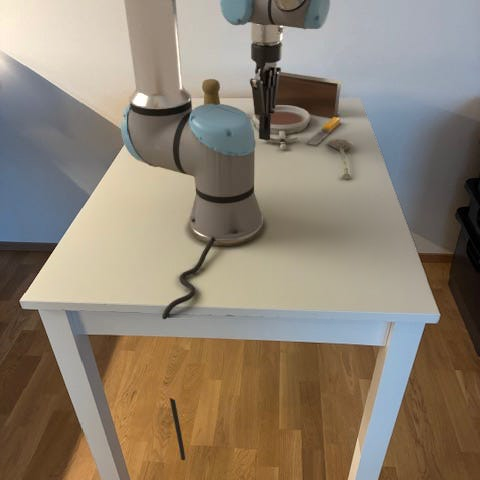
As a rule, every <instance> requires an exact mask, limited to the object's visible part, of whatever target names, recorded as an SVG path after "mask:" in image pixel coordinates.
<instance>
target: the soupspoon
mask: <svg viewBox="0 0 480 480" xmlns="http://www.w3.org/2000/svg"><path fill="white" fill-rule="evenodd" d="M327 144H328V145H329V146H331V147H333V148H335V149H337V150H339V151H340V154H341V159H342V162H343V167H344V168H343V175H342V179H343V180H349V179H350V178H351V174H350V173H349V169H348V164H347V158H346V153H345V150H347V149H349V148H350V147H352V146H353V142H351V141H350V140H349V139H346V138H341V137H340V138H333V139H330V140H329V141H327Z"/></svg>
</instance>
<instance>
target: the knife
mask: <svg viewBox="0 0 480 480" xmlns="http://www.w3.org/2000/svg"><path fill="white" fill-rule="evenodd" d="M340 122H341V118H340V117H337V116H336V117H333V118H330V119H329V120H328V121H327V122H326V123H325V124H324V125H323V127H322V128H321V129H320V130H321V131H320V132H319V133H318V134H316V136H315V137H314V138H313V139H311V140H310V142H309V143H308V145H311V146H315V147H316V146H318V145H319V144H320V143H321V142H322V141H323V140H324V139H325V138H326V137H327V136H328V135H330V133H331V132H332V131H333V130H334V129H335V128H336V127H338V126H339V124H340Z"/></svg>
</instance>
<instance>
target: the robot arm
mask: <svg viewBox="0 0 480 480" xmlns="http://www.w3.org/2000/svg"><path fill="white" fill-rule="evenodd" d="M123 1H124V11H125V16H126V17H125V18H126V25H127V32H128V40H129V45H130V53H131V60H132V67H133V68H132V69H133V76H134V82H135V89H134V90H133V92H132V93H131V95H130V96H129V104H128V105H127V106H126V107H125V109H124V111H123V114H122V116H123V119H121V124H120V125H121V126H120V131H121V132H120V133H121V137H122V141H123V144H124V146H125V148H126V150H127V152H128V153H129V154H130V156H131V157H133V158H134V159H136V160H137V161H139V162H140V163H144V164H147V165H148V166H150V167H153V168H160V169H165V170H169V171H172V172H176V173H180V174H183V175H187V176H191V177H193V178H194V185H195V197H194V200H193V205H192V208H191V211H190V212H191V213H190V216H189V229H190V232H191V234H192V236H193V237H194V238H195V239H196V240H197V241H199V242H202V243H204V244H206V245H205V247H204V249H203V251H202V253H201V255H200V257H199V259H198V261H197V263H196V265H195V266H194V267H192V268H190V269H188V270H186V271H183V272H182V273H180V275H179V282H180V283H181V284H182V285H183V286H184V287H185V288H186V289H189V292H188V293H187V294H186V295H183V296H181V297H178V298H176V299H175V300H173V301H171V302H170V303H169V304H168V305H167V306H166V307H165V309H164V311H163V313H162V317H161V318H162V320H166V319H167V318H168V317H169V315H170V313H171V311H173V309H174V308H175V307H176V306H179V305H181V304H183V303H185V302H188V301H190V300H191V299H193V298H194V296H195V294H196V287H195V286H194V285H193V284H192V283H191V282H188V281H187V280H186V277H189V276H191V275H194V274H196V273H197V272H198V271H199V270H200V269H201V268H202V266H203V264H204V262H205V260H206V257H207V255H208V254H209V252H210V250H211V249H212V247H213V246H214V247H215V246H216V247H235V246H239V245H243V244H246V243H249V242H251V241H253V240H254V239H256V238H258V236H259V235H260V234H261V233H262V230H263V228H264V227H263V226H264V218H263V214H262V211H261V209H260V205H259V203H258V202H259V201H258V199H257V196H256V193H255V157H256V155H255V151H256V136H255V127H254V121H252V118H251V117H250V116H249V114H247V113H246V112H245V111H243V110H242V109H240V108H238V107H235V106H232V105H229V104H224V103H220V104H218V105H214V104H205V105H204V104H201V105H198V106H196V107H194V108H193V102H192V94H191V93H190V92H189V91H188V90H187V89H186V88H185V87H184V85H183V75H182V61H181V52H180V51H181V50H180V37H179V26H178V25H179V24H178V11H177V0H123ZM219 5H220V10H221V13H222V16H223V18H224V19H225V20H226V22H228V23H229V24H230V25H232V26H245V25H246V24H248V23H251V24H250V41H252V42H251V44H250V58H251V60H252V61H253V62H254V63H255V69H254V73H255V76H254V77H253V78H250V79H249V84H250V88H251V95H252V101H253V112H254V114H255V115H259V129H258V139H259V140H261V141H262V140H264V141H269V139H270V138H271V133H270V126H271V114H274V113H275V111H273V110H272V109H275V105H276V98H277V90H278V82H279V76H280V73H281V72H282V68H281V67H279V66H277V65H278V64H277V63H278V62H280V61H281V60H282V57H283V43H282V42H281V41H282V40H283V33H284V31H285V28H284V27H286V28H296V29H303V30H320V29H321V28H323V26H324V25H325V24H326V22H327V20H328V17H329V14H330V9H331V0H220V3H219ZM169 402H170V407H171V412H172V418H173V423H174V427H175V433H176V437H177V438H176V439H177V443H178V450H179V455H180V460H181V461H185V460H186V453H185V447H184V441H183V435H182V429H181V425H180V420H179V419H180V418H179V415H178V414H179V413H178V408H177V403H176V400H175V399H174V398H171V397H169Z"/></svg>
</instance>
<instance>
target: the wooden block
mask: <svg viewBox="0 0 480 480" xmlns="http://www.w3.org/2000/svg"><path fill="white" fill-rule="evenodd" d="M341 87H342V80H338V79H331V78H325V77H317V76H311V75H304V74H297V73H291V72H286V71H285V72H284V71H281V73H280V76H279V82H278V90H277V98H276V105H289V106H295V107H299V108H302V109H304V110H306V111H307V112H308V113H309V115H313V116H320V117H325V118H330V119H332V118H333V117H336V118H337V116H338V113H339V104H340V95H341V89H342V88H341Z"/></svg>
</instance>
